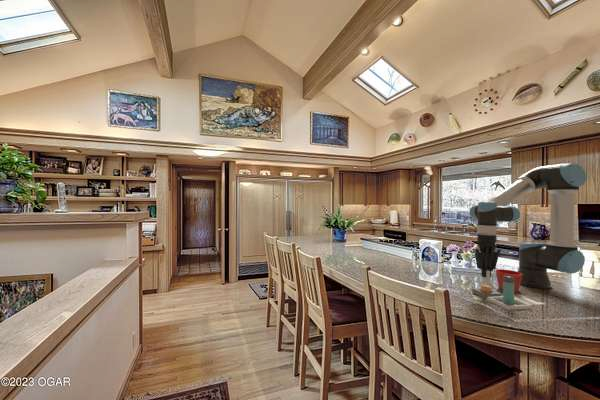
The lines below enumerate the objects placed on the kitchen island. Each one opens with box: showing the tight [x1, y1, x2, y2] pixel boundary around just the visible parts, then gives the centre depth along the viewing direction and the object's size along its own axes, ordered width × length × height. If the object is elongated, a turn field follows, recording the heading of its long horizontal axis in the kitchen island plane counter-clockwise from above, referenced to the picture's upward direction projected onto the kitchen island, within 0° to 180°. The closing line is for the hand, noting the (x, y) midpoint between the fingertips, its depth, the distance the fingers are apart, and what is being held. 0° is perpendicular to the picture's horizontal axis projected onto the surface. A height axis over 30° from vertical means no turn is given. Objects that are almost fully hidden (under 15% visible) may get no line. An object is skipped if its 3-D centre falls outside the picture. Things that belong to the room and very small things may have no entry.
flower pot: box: [495, 268, 522, 293], centre depth 138 cm, size 11×11×10 cm
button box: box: [471, 287, 502, 300], centre depth 128 cm, size 8×8×3 cm
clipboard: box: [501, 293, 546, 306], centre depth 124 cm, size 12×14×1 cm
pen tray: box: [486, 295, 533, 311], centre depth 117 cm, size 11×11×2 cm
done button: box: [480, 284, 493, 293], centre depth 128 cm, size 4×4×4 cm
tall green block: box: [502, 276, 515, 305], centre depth 117 cm, size 4×4×12 cm
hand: (486, 283), depth 128 cm, fingers closed
